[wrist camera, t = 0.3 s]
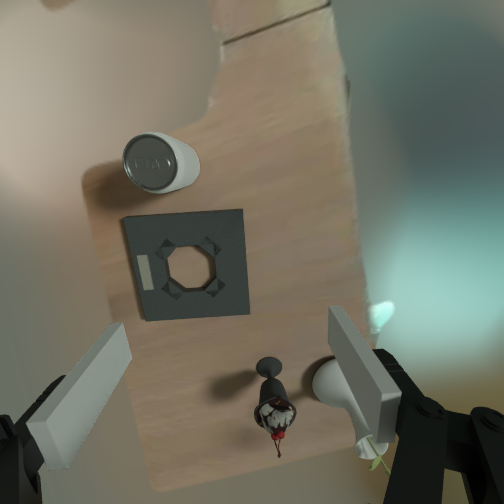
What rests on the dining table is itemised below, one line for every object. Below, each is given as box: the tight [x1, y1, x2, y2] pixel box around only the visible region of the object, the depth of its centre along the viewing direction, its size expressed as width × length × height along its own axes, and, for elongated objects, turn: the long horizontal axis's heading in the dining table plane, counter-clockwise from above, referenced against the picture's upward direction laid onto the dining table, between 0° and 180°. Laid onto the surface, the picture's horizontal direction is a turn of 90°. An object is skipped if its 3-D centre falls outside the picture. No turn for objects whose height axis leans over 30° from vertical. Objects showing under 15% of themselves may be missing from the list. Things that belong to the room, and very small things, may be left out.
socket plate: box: [123, 209, 250, 321], centre depth 42 cm, size 18×18×2 cm
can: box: [123, 132, 200, 194], centre depth 32 cm, size 6×6×12 cm
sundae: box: [254, 357, 297, 458], centre depth 43 cm, size 7×7×15 cm
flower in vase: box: [312, 359, 391, 504], centre depth 39 cm, size 13×11×25 cm
